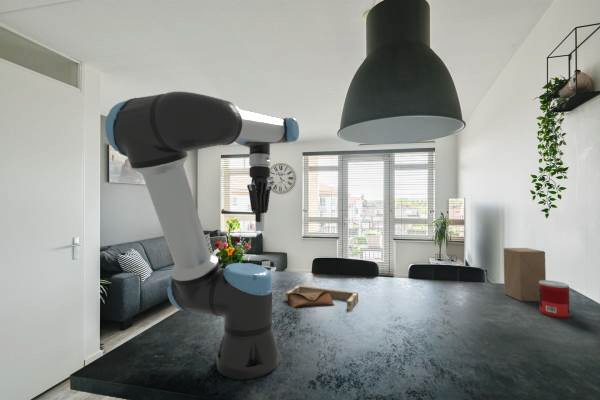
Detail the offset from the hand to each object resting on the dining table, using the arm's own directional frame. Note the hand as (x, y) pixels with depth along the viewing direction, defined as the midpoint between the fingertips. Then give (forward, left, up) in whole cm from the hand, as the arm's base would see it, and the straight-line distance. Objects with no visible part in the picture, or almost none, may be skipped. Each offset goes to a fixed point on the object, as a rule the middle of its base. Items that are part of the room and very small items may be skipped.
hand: (259, 230), depth 105 cm
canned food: (+39, -97, -30) cm, 108 cm away
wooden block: (+57, -93, -30) cm, 113 cm away
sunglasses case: (+15, -14, -30) cm, 37 cm away
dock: (+20, -17, -29) cm, 39 cm away
